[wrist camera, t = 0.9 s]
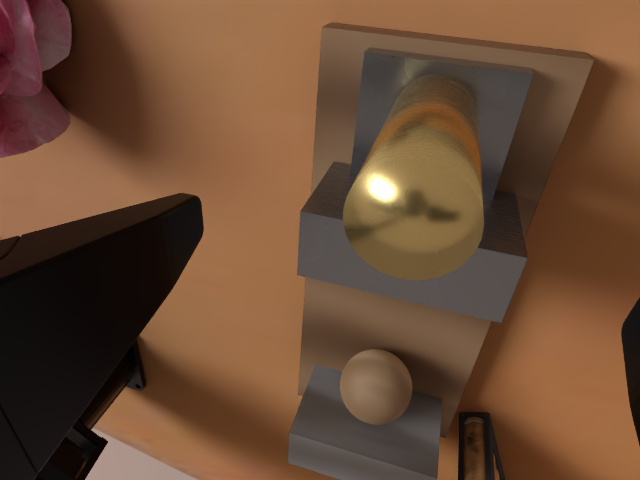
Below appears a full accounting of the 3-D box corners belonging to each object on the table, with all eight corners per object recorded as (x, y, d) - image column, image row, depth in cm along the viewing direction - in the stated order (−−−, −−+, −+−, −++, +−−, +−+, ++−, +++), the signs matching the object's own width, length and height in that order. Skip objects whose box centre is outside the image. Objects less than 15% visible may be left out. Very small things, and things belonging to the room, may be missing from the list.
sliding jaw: (495, 251, 20) (510, 427, 13) (328, 217, 22) (253, 356, 14) (559, 71, 16) (641, 176, 8) (344, 44, 17) (247, 112, 10)
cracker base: (446, 417, 30) (441, 517, 24) (304, 377, 31) (271, 462, 26) (585, 52, 17) (638, 96, 11) (331, 22, 19) (276, 48, 13)
